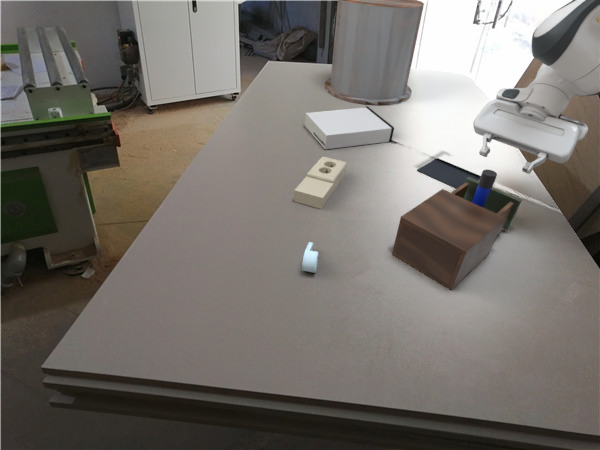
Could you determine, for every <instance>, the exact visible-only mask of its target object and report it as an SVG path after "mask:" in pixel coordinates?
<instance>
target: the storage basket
mask: <svg viewBox="0 0 600 450" xmlns="http://www.w3.org/2000/svg"><path fill="white" fill-rule="evenodd" d="M424 6H425V3H424V2H422V1H420V0H337V7H336V8H337V9H336V18H335V28H334V29H335V30H334V38H333V39H334V40H333V51H332V62H331V71H330V77H328V78H327V79H326V80H325V82H324V90H325V91H326V92H327V93H328V94H329V95H331V96H332V97H334V98H337V99H338V100H342V101H344V102H348V103H353V104H357V105H358V104H359V105H364V106H391V105H392V106H393V105H399V104H401V103H405V102H407V101H408V100H409V99H410V98H411V95H412V89H411V87H410V86H409V85H408V83H409V78H410V73H411V67H412V64H413V58H414V54H415V50H416V45H417V40H418V35H419V30H420V25H421V21H422V16H423V12H424Z"/></svg>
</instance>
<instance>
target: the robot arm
mask: <svg viewBox="0 0 600 450" xmlns="http://www.w3.org/2000/svg"><path fill="white" fill-rule="evenodd" d="M599 16H600V0H571V1H569V2H568V3H566V4H564V5H563V6H561V7H560V8H558V9H557V10H555V11H553V12H552V13H551V14H550V15H547V17H546V18H545V19H544V20H543V21H541V23H539V25H538V26H537V27H536V28H535V30H533V31H534V32H533V33H532V37H531V54H532V57H533V58H534V59H536V60H537V61H539V62H541V63H542V64H541V65H540V67H539V69H538V70H537V73H536V76H535V78H534V80H533V81H531V82H530V83H529V84H528V86H527V87H514V88H513V87H512V88H511V87H510V88H509V87H507V88H505V87H504V88H499V90H498V91H497V93H496V96H495V98H494V99H491V100H490V101H489V102H487V103H486V104H485V105H484V106H483V108H482V109H481V110H480V111H479V113H478V114H477V115H476V117H475V118H474V120H473V123H472V126H473V130H474V133H475V134H476V135H480V136H482V147H481V148H480V150H479V152H478V154H479V156H482V157H483V158H487V157H488V155H489V154H490V152H491V147H489V146H488V143H489V144H490V143H491V142H492V140H493V141H495V142H499V143H502V144H504V145H507V146H510V147H513V148H515V149H518V150H521V151H524V152H527V153H529V154H532V155H534V156H537V158H536V159H535V160H533V161H531V162H530V161H526V162H525V163H524V165H523V166H522V171H521V172H523V173H526V174H528V175H530V174H531V173H532V171H533V170H534V168H537V167H539V166H541V165H542V164H545V162H546V160H549V161H552V162H554V163H557V164H560V165H561V164H564V163H566V162H568V161H569V160H570V158H571V157H572V154H573V153H574V151H575V149H576V147H577V144H578V142H581V141H582V140H584V139H585V137H586V136H587V134H588V133H589V126H588V125H587V124H586V123H585V121H584V120H582V119H579V118H578V119H576V118H574V117H571V116H569V115H565V114H563V113H564V112H565V110H567V108H568V106H569V104H570V102H571V100H572V98H574V97H575V96H578V97H591V96H598V95H600V23H599V22H598V21H597V20H596V18H598V17H599Z"/></svg>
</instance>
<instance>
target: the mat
mask: <svg viewBox="0 0 600 450" xmlns="http://www.w3.org/2000/svg"><path fill="white" fill-rule="evenodd" d="M416 172H418V173H420V174H423V175H425V176H427V177H429V178H432V179H434V180H437V181H438V182H441V183H443V184H445V185H447V186H450V187H452V188H454V189H455V190H456V189H457V188H459V187H460V186H461V185H463V184H464V183H465V180H466V178H468V177H470V178H473V179H475V180H477V181H479V180H480V177H481V175H480V174H478V173H474V172H472V171H469V170H468V169H465V168H463V167H460V166H458V165H455V164H453V163H451V162H448V161H445V160H443V159H440V158H438V157H437V158H434V159H433V160H431V161H430V162H428V163H426V164H424V165H422V166H421V167H419V168H417V169H416Z"/></svg>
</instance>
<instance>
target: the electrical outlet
mask: <svg viewBox="0 0 600 450" xmlns="http://www.w3.org/2000/svg"><path fill="white" fill-rule="evenodd" d="M347 167H348V162H347V161H345V160H340V159H337V158H336V159H335V158H332V157H331V158H330V157H327V156H321V157H320V158H319V159H318V161H316V163H315V164H314V165H313V166H312V167H311V169H309V171H308V172H307V173H306V176H305V177H304V178H303V180H301V182H300V183H299V184H298V185H297V186H296V188H295V189H294V191H293V202H295V203H298V204H302V205H305V206H309V207H312V208H316V209H319V210H323V208H324V207H325V206H326V204H327V203H328V202H329V200H330V198H331V197H332V196H333V194H334V193H335V191H336V190H337V188H338V187H339V185H340V184H341V183H342V181H343V180H344V179H345V178H346V175H347Z"/></svg>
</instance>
